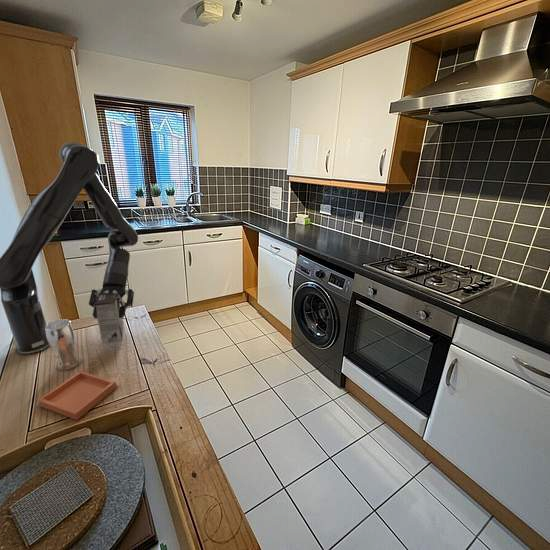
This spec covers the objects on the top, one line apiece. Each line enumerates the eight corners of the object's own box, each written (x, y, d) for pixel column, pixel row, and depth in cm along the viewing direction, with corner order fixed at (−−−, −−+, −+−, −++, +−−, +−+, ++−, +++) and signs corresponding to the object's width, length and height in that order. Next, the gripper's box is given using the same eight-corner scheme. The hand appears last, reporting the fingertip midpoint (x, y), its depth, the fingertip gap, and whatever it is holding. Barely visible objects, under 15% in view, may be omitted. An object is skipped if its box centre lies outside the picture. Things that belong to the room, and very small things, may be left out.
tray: (39, 406, 78) (37, 400, 77) (82, 376, 89) (80, 370, 89) (77, 420, 74) (75, 414, 73) (116, 387, 85) (115, 381, 85)
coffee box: (105, 332, 109) (98, 292, 103) (125, 329, 111) (118, 290, 105) (101, 345, 101) (93, 303, 95) (122, 342, 103) (115, 301, 97)
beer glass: (68, 372, 91) (57, 331, 85) (50, 369, 92) (37, 328, 87) (86, 359, 97) (76, 320, 92) (68, 356, 98) (58, 317, 93)
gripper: (91, 271, 104) (81, 315, 97) (132, 271, 106) (125, 314, 99) (100, 279, 111) (91, 321, 104) (139, 279, 112) (133, 320, 106)
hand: (108, 317), depth 102 cm, fingers closed on coffee box, 7 cm apart
